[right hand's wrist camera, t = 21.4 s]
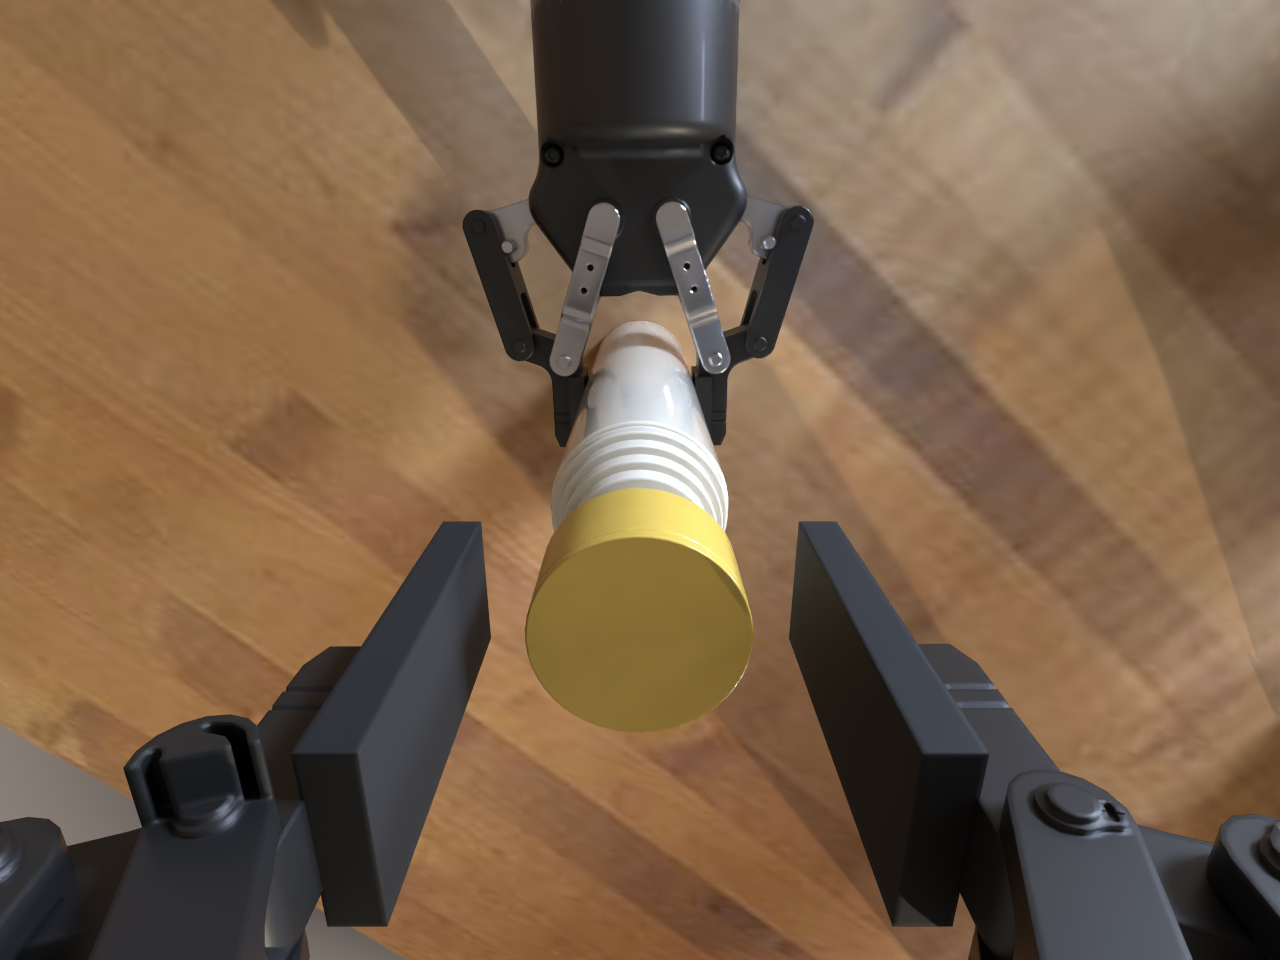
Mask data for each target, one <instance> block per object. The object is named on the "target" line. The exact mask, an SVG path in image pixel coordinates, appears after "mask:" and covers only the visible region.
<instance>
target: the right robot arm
mask: <svg viewBox="0 0 1280 960" xmlns="http://www.w3.org/2000/svg"><path fill="white" fill-rule="evenodd" d="M490 639H491V633H490V621H489V610H488V598H487V586H486V575H485V563H484V551H483V540H482V528H481V522H443V523H442V524H441V526H440V528H439V529H438V531H437V532H436V534H435V535H434V537H433V538H432V540H431V541H430V543H429V544H428V546H427V547H426V549H425V550H424V552H423V553H422V555H421V556H420V558H419V559H418V561H417V562H416V564H415V565H414V567H413V569H412V570H411V572H410V573H409V575H408V576H407V578H406V579H405V581H404V582H403V584H402V585H401V587H400V588H399V590H398V591H397V593H396V594H395V596H394V597H393V599H392V600H391V602H390V603H389V605H388V606H387V608H386V609H385V611H384V613H383V614H382V616H381V617H380V619H379V620H378V622H377V623H376V625H375V626H374V628H373V629H372V631H371V632H370V634H369V635H368V637H367V638H366V640H365V641H364V643H363V644H362V646H361V647H329V648H327V649H326V650H324V651H323V652H322V653H320V654H319V655H317V656H316V657H314V658H313V659H312V660H310V661H309V662H307V663H306V664H304V665H303V666H302V668H301V669H300V670H299V671H298V673H297V674H296V675H295V677H294V678H293V679H292V681H291V682H290V683H289V685H288V686H287V687H286V692H282V694H281V695H280V696H279V698H278V699H277V700H276V702H275V703H274V704H273V708H272V710H269V711H268V712H267V713H266V715H265V716H264V717H263V719H262V720H261V721H260V723H259V724H258V725H257V726H256V725H255V724H254V723H253V722H252V721H251V720H249V719H248V718H245V717H240V716H235V715H217V716H206V717H203V718H199V719H196V720H192V721H189V722H185V723H182V724H180V725H178V726H176V727H173V728H171V729H169V730H167V731H165V732H163V733H161V734H159V735H157V736H156V737H154V738H153V739H152V740H150V741H149V742H148V743H146V744H145V745H144V746H142V747H141V748H140V749H138V750H137V751H136V752H135V753H134V755H133V756H132V757H131V758H130V760H129V761H128V762H127V764H126V765H125V766H124V768H123V769H124V772H125V775H126V778H127V781H128V784H129V788H130V791H131V794H132V797H133V800H134V803H135V806H136V809H137V813H138V816H139V819H140V822H141V825H142V828H139V829H136V830H132V831H129V832H125V833H121V834H117V835H113V836H108V837H104V838H100V839H96V840H92V841H88V842H83V843H79V844H75V845H71V846H67V845H66V842H65V840H64V837H63V834H62V832H61V829H60V827H58V826H57V825H56V824H54V823H53V822H52V821H50V820H49V819H43V818H33V817H26V818H20V819H15V820H10V821H5V822H0V960H309V957H310V955H309V948H308V941H307V936H306V931H305V927H306V924H307V922H308V920H309V918H310V916H311V914H312V912H313V910H314V908H315V906H316V904H317V901H318V899H319V897H320V895H321V898H322V903H323V907H324V912H325V917H326V921H327V926H388V923H389V920H390V918H391V915H392V912H393V909H394V906H395V904H396V901H397V898H398V895H399V893H400V890H401V887H402V884H403V881H404V879H405V876H406V873H407V870H408V867H409V865H410V862H411V859H412V856H413V854H414V851H415V848H416V845H417V842H418V840H419V837H420V834H421V831H422V829H423V826H424V823H425V820H426V817H427V815H428V812H429V809H430V806H431V803H432V801H433V798H434V795H435V792H436V790H437V787H438V784H439V781H440V778H441V776H442V773H443V770H444V767H445V764H446V762H447V759H448V756H449V753H450V751H451V748H452V745H453V742H454V739H455V737H456V734H457V731H458V728H459V726H460V723H461V720H462V717H463V714H464V712H465V709H466V706H467V703H468V700H469V698H470V695H471V692H472V689H473V687H474V684H475V681H476V678H477V675H478V673H479V670H480V667H481V664H482V662H483V659H484V656H485V653H486V650H487V648H488V645H489V642H490ZM789 639H790V642H791V645H792V648H793V650H794V653H795V656H796V659H797V662H798V664H799V667H800V670H801V673H802V675H803V678H804V681H805V684H806V687H807V689H808V692H809V695H810V698H811V700H812V703H813V706H814V709H815V712H816V714H817V717H818V720H819V723H820V726H821V728H822V731H823V734H824V737H825V739H826V742H827V745H828V748H829V751H830V753H831V756H832V759H833V762H834V764H835V767H836V770H837V773H838V776H839V778H840V781H841V784H842V787H843V790H844V792H845V795H846V798H847V801H848V803H849V806H850V809H851V812H852V815H853V817H854V820H855V823H856V826H857V829H858V831H859V834H860V837H861V840H862V842H863V845H864V848H865V851H866V854H867V856H868V859H869V862H870V865H871V867H872V870H873V873H874V876H875V879H876V881H877V884H878V887H879V890H880V893H881V895H882V898H883V901H884V904H885V906H886V909H887V912H888V915H889V918H890V920H891V923H892V926H953V921H954V917H955V912H956V907H957V903H958V898H959V893H960V894H961V896H962V898H963V900H964V902H965V904H966V906H967V908H968V910H969V913H970V915H971V917H972V919H973V921H974V923H975V925H976V927H975V931H974V936H973V940H972V944H971V949H970V953H969V958H968V960H1280V819H1277V818H1271V817H1266V816H1261V815H1255V814H1249V815H1238V816H1232V817H1231V818H1229V819H1228V820H1227V821H1225V822H1224V823H1223V824H1222V825H1221V826H1220V829H1219V832H1218V834H1217V837H1216V840H1215V842H1214V843H1210V842H1206V841H1201V840H1197V839H1193V838H1189V837H1184V836H1180V835H1176V834H1172V833H1168V832H1163V831H1159V830H1155V829H1151V828H1148V827H1145V826H1141V825H1138V824H1136V822H1135V821H1134V819H1133V818H1132V816H1131V815H1130V813H1129V812H1128V810H1127V809H1126V807H1124V806H1123V805H1122V804H1121V803H1120V802H1118V801H1117V800H1116V799H1115V798H1114V797H1113V796H1111V795H1110V794H1109V793H1108V792H1107V791H1105V790H1103V789H1101V788H1099V787H1098V786H1096V785H1094V784H1092V783H1090V782H1088V781H1087V780H1085V779H1083V778H1080V777H1076V776H1073V775H1070V774H1067V773H1064V772H1061V771H1060V770H1059V769H1058V768H1057V766H1056V765H1055V764H1054V763H1053V761H1052V760H1051V759H1050V757H1049V756H1048V755H1047V753H1046V752H1045V751H1044V749H1043V748H1042V747H1041V746H1040V744H1039V743H1038V742H1037V740H1036V739H1035V738H1034V736H1033V735H1032V734H1031V733H1030V731H1029V730H1028V729H1027V727H1026V726H1025V725H1024V723H1023V722H1022V721H1021V719H1020V718H1019V717H1018V716H1017V714H1016V713H1015V712H1014V710H1013V709H1012V708H1009V707H1008V703H1007V701H1006V700H1005V699H1004V697H1003V696H1002V695H1001V693H1000V692H999V691H998V689H994V684H993V683H992V682H991V680H990V679H989V678H988V676H987V675H986V674H985V673H984V671H983V670H982V669H981V667H980V666H979V665H978V663H976V662H975V661H974V660H972V659H971V658H969V657H968V656H966V655H965V654H963V653H962V652H961V651H959V650H958V649H956V648H955V647H953V646H952V645H950V644H917V643H916V641H915V640H914V638H913V637H912V635H911V634H910V632H909V631H908V629H907V628H906V626H905V625H904V623H903V622H902V620H901V619H900V617H899V616H898V614H897V613H896V611H895V609H894V608H893V606H892V605H891V603H890V602H889V600H888V599H887V597H886V596H885V594H884V593H883V591H882V590H881V588H880V587H879V585H878V584H877V582H876V581H875V579H874V578H873V576H872V575H871V573H870V572H869V570H868V569H867V567H866V565H865V564H864V562H863V561H862V559H861V558H860V556H859V555H858V553H857V552H856V550H855V549H854V547H853V546H852V544H851V543H850V541H849V540H848V538H847V537H846V535H845V534H844V532H843V531H842V529H841V528H840V526H839V524H838V523H837V522H799V528H798V540H797V551H796V563H795V575H794V586H793V598H792V610H791V621H790V633H789Z"/></svg>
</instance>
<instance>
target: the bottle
mask: <svg viewBox="0 0 1280 960" xmlns="http://www.w3.org/2000/svg"><path fill="white" fill-rule="evenodd" d="M629 488H647V489H656V490H662V491H667V492H669V493H673V494H676V495H679V496H681V497H683V498H685V499H688V500H690V501H691V502H693V503H695V504H697V505H698V506H700V507H701V508H702V509H703V510H705V511H706V512H707V513H708V514H710V515H711V517H712V518H713V519H714V520H715V521H716V522H717V523H718V524H719V525H720V527H721V528H722V530H723V531H724V532H725V529H726V524H727V513H728V492H727V486H726V482H725V479H724V476H723V473H722V470H721V467H720V464H719V460H718V457H717V454H716V451H715V448H714V445H713V442H712V439H711V436H710V433H709V430H708V427H707V424H706V421H705V418H704V415H703V412H702V409H701V406H700V403H699V400H698V397H697V394H696V391H695V388H694V385H693V381H692V378H691V375H690V372H689V369H688V366H687V363H686V360H685V357H684V354H683V351H682V349H681V346H680V344H679V343H678V341H677V340H676V338H675V337H674V336H673V335H672V334H671V333H670V332H669V331H668V330H666V329H665V328H663V327H662V326H660V325H658V324H655V323H652V322H647V321H633V322H628V323H625V324H622V325H620V326H618V327H617V328H615V329H614V330H612V331H611V332H610V333H609V334H608V335H607V336H606V337H605V338H604V339H603V341H602V342H601V344H600V346H599V348H598V351H597V354H596V357H595V360H594V363H593V366H592V369H591V372H590V375H589V378H588V381H587V384H586V387H585V390H584V393H583V396H582V399H581V402H580V405H579V408H578V411H577V414H576V417H575V420H574V423H573V426H572V429H571V432H570V435H569V438H568V441H567V444H566V447H565V450H564V453H563V456H562V459H561V462H560V465H559V468H558V471H557V474H556V477H555V480H554V483H553V488H552V493H551V511H552V523H553V528H554V532H555V531H556V529H557V528H558V526H559V525H560V524H561V523H562V522H563V521H564V519H565V518H566V517H567V516H568V515H570V514H571V513H572V512H573V511H574V510H575V509H577V508H578V507H580V506H581V505H583V504H584V503H586V502H587V501H589V500H591V499H593V498H595V497H598V496H600V495H603V494H606V493H609V492H613V491H618V490H622V489H629Z"/></svg>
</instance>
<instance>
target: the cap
mask: <svg viewBox="0 0 1280 960" xmlns="http://www.w3.org/2000/svg"><path fill="white" fill-rule="evenodd" d="M753 637H754V636H753V621H752V616H751V611H750V607H749V604H748V600H747V597H746V593H745V590H744V586H743V583H742V579H741V576H740V572H739V569H738V565H737V562H736V558H735V555H734V552H733V549H732V546H731V543H730V542H729V540H728V538H727V536H726V534H725V532H724V531H723V530H722V528H721V527H720V525H719V524H718V523H717V522H716V521H715V520H714V519H713V518H712V517H711V515H710V514H708V513H707V512H706V511H705V510H703V509H702V508H701V507H700V506H698V505H697V504H695V503H693V502H691V501H690V500H688V499H685V498H683V497H681V496H679V495H676V494H673V493H669V492H667V491H662V490H656V489H647V488H629V489H622V490H618V491H613V492H609V493H606V494H603V495H600V496H598V497H595V498H593V499H591V500H589V501H587V502H586V503H584V504H583V505H581V506H580V507H578V508H577V509H575V510H574V511H573V512H572V513H571V514H570V515H568V516H567V517H566V518H565V519H564V521H563V522H562V523H561V524H560V525H559V526H558V528H557V529H556V531H555V532H554V534H553V536H552V537H551V539H550V541H549V544H548V546H547V548H546V552H545V555H544V558H543V562H542V565H541V569H540V572H539V576H538V579H537V583H536V586H535V590H534V593H533V597H532V600H531V604H530V607H529V611H528V614H527V619H526V627H525V642H526V648H527V654H528V657H529V660H530V663H531V666H532V668H533V670H534V672H535V674H536V676H537V678H538V680H539V681H540V683H541V684H542V686H543V687H544V689H545V690H546V691H547V692H548V693H549V694H550V696H551V697H552V698H553V699H554V700H555V701H556V702H558V703H559V704H560V705H561V706H562V707H563V708H565V709H566V710H568V711H569V712H571V713H572V714H574V715H575V716H577V717H579V718H581V719H583V720H585V721H587V722H589V723H592V724H595V725H597V726H600V727H604V728H608V729H612V730H617V731H624V732H641V733H643V732H656V731H662V730H667V729H672V728H675V727H678V726H682V725H684V724H687V723H689V722H692V721H694V720H696V719H698V718H700V717H701V716H703V715H705V714H707V713H708V712H710V711H711V710H712V709H714V708H715V707H717V706H718V705H719V704H720V703H721V702H722V701H723V700H724V699H725V698H726V697H728V696H729V694H730V693H731V692H732V691H733V689H734V688H735V687H736V686H737V684H738V682H739V681H740V679H741V678H742V676H743V674H744V672H745V670H746V667H747V665H748V663H749V659H750V656H751V652H752V646H753Z"/></svg>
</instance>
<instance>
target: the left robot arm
mask: <svg viewBox="0 0 1280 960" xmlns="http://www.w3.org/2000/svg"><path fill="white" fill-rule="evenodd" d="M530 1H531V20H532V37H533V54H534V71H535V89H536V106H537V123H538V140H539V168H538V173H537V176H536V179H535V181H534V183H533V186H532V188H531V190H530V194H529V199H528V200H524V201H521V202H518V203H515V204H512V205H508V206H505V207H502V208H499V209H496V210H492V211H485V210H473V211H471V212H469V213H468V214H467V215H466V216H465V218H464V220H463V230H464V233H465V236H466V239H467V242H468V245H469V248H470V251H471V253H472V256H473V259H474V262H475V265H476V268H477V271H478V273H479V276H480V279H481V282H482V285H483V288H484V291H485V293H486V296H487V299H488V302H489V305H490V308H491V311H492V313H493V316H494V319H495V322H496V325H497V328H498V330H499V333H500V336H501V339H502V342H503V345H504V348H505V350H506V353H507V354H508V356H509V357H511V358H512V359H514V360H516V361H524V360H525V361H528V362H531V363H534V364H536V365H539V366H542V367H543V368H545V369H546V370H547V371H548V372H549V374H550V376H551V378H552V386H553V403H554V420H555V436H556V438H557V440H558V442H559V444H560V447H566V444H567V441H568V438H569V435H570V432H571V429H572V426H573V423H574V420H575V417H576V414H577V411H578V408H579V405H580V402H581V399H582V396H583V393H584V390H585V387H586V384H587V381H588V368H583V353H584V350H585V347H586V343H587V340H588V336H589V333H590V330H591V326H592V323H593V319H594V316H595V313H596V310H597V307H598V303H599V300H600V297H601V296H621V295H625V294H628V293H632V292H635V291H644V292H647V293H651V294H655V295H678V296H679V300H680V303H681V306H682V309H683V312H684V314H685V317H686V320H687V323H688V326H689V329H690V332H691V336H692V339H693V342H694V345H695V348H696V351H697V352H696V366H692V367H691V378H692V381H693V385H694V388H695V391H696V394H697V397H698V400H699V403H700V406H701V409H702V412H703V415H704V418H705V421H706V424H707V427H708V430H709V433H710V436H711V439H712V442H713V445H721V444H722V441H723V439H724V437H725V434H726V407H727V378H728V375H729V372H730V371H731V369H732V368H733V367H734V366H735V365H737V364H739V363H741V362H744V361H746V360H749V359H752V358H764V357H767V356H768V355H769V354H771V352H772V351H773V349H774V347H775V344H776V340H777V337H778V334H779V331H780V328H781V325H782V322H783V318H784V315H785V312H786V309H787V306H788V303H789V300H790V296H791V293H792V290H793V287H794V284H795V281H796V278H797V274H798V271H799V268H800V265H801V262H802V259H803V256H804V252H805V249H806V246H807V243H808V240H809V237H810V234H811V231H812V227H813V222H814V220H813V215H812V213H811V212H810V210H809V209H807V208H806V207H804V206H798V205H793V206H782V205H779V204H775V203H771V202H768V201H764V200H761V199H757V198H753V197H750V196H747V193H746V189H745V186H744V184H743V182H742V180H741V178H740V176H739V173H738V170H737V166H736V161H735V132H736V98H737V64H738V30H739V0H530ZM739 221H741V222H743V223H744V224H745V225H746V226H747V228H748V230H749V241H748V244H749V248H750V250H751V252H752V253H753V254H754V255H756V256H758V257H760V260H759V264H758V267H757V270H756V274H755V277H754V280H753V284H752V287H751V290H750V294H749V297H748V300H747V304H746V307H745V310H744V314H743V317H742V320H741V324H740V326H738V327H736V328H733V329H730V330H728V331H725V332H723V330H722V327H721V324H720V320H719V317H718V313H717V308H716V305H715V302H714V298H713V295H712V292H711V289H710V286H709V282H708V279H707V276H706V273H705V270H706V268H707V267H708V265H709V264H710V262H711V261H712V260H713V258H714V257H715V255H716V254H717V253H718V251H719V250H720V248H721V247H722V245H723V244H724V243H725V241H726V240H727V238H728V237H729V235H730V234H731V233H732V231H733V230H734V228H735V227H736V226H737V224H738V223H739ZM535 224H537V225H538V227H539V228H540V229H541V231H542V232H543V233H544V235H545V236H546V237H547V239H548V240H549V241H550V243H551V244H552V245H553V247H554V248H555V249H556V251H557V252H558V253H559V255H560V256H561V257H562V259H563V260H564V261H565V263H566V264H567V265H568V267H569V268H570V269H571V271H572V272H573V273H572V277H571V280H570V284H569V288H568V291H567V295H566V298H565V302H564V306H563V309H562V314H561V319H560V323H559V327H558V330H557V334H553V333H550V332H547V331H544V330H541V329H540V328H539V325H538V322H537V319H536V316H535V313H534V310H533V307H532V304H531V301H530V298H529V295H528V292H527V289H526V286H525V283H524V280H523V277H522V274H521V271H520V267H519V264H518V261H519V260H521V259H523V258H524V257H525V256H526V255H527V253H528V249H529V244H528V233H529V231H530V229H531V228H532V227H533V226H534V225H535Z"/></svg>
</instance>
